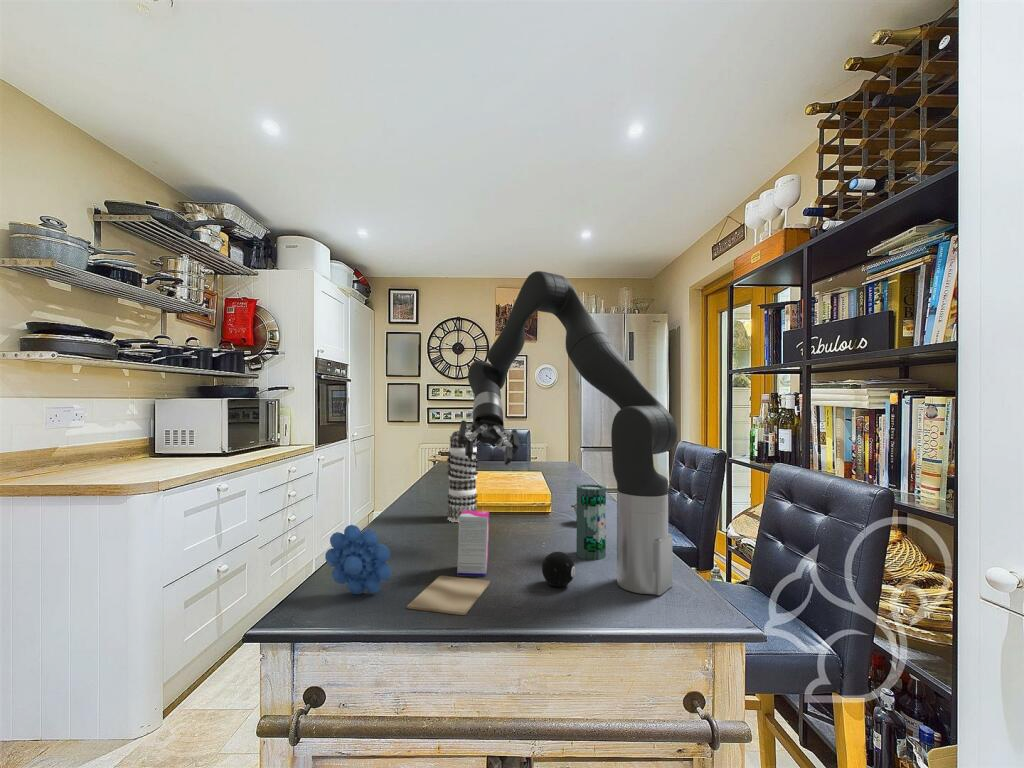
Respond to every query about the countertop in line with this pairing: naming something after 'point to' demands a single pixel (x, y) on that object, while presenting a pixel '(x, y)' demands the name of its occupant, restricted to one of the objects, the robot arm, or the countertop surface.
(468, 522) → the supplement box
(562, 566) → the billiard ball
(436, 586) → the brown paper envelope
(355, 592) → the blue knobbed wheel
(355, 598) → the countertop surface
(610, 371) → the robot arm
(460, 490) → the grey white cylinder
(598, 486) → the can
